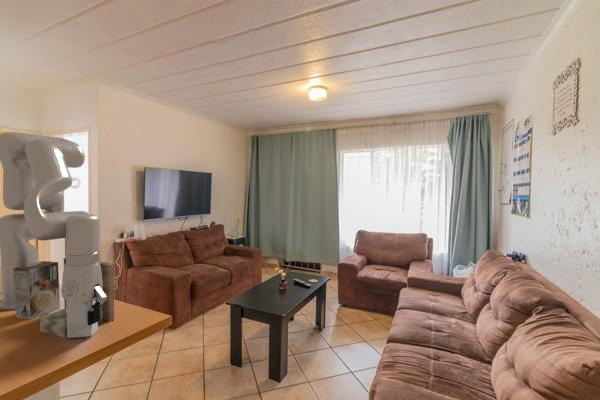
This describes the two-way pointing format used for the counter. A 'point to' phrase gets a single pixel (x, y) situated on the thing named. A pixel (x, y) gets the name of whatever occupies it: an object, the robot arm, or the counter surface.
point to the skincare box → (78, 319)
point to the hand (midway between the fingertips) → (83, 319)
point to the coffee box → (36, 289)
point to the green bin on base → (58, 320)
